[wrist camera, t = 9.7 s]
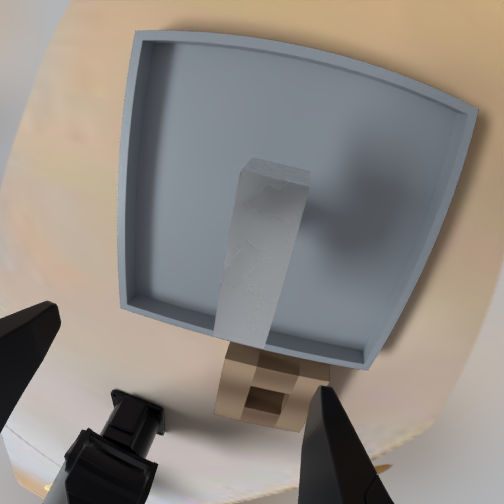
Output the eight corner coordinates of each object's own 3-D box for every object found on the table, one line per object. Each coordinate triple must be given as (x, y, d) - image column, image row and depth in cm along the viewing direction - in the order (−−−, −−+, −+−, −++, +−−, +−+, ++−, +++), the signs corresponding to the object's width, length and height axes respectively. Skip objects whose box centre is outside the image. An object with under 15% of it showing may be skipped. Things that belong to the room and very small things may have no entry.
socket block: (300, 411, 28) (299, 432, 26) (219, 393, 29) (213, 413, 26) (329, 358, 24) (329, 381, 22) (231, 336, 25) (224, 358, 23)
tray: (365, 352, 24) (368, 370, 22) (131, 293, 25) (120, 308, 23) (463, 106, 14) (478, 109, 13) (150, 35, 16) (135, 30, 14)
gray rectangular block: (279, 273, 21) (263, 348, 15) (241, 264, 21) (212, 335, 15) (309, 153, 17) (309, 187, 11) (266, 142, 17) (240, 170, 11)
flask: (80, 440, 45) (37, 522, 27) (107, 457, 46) (68, 540, 28) (67, 451, 51) (32, 517, 34) (89, 466, 52) (56, 532, 35)
